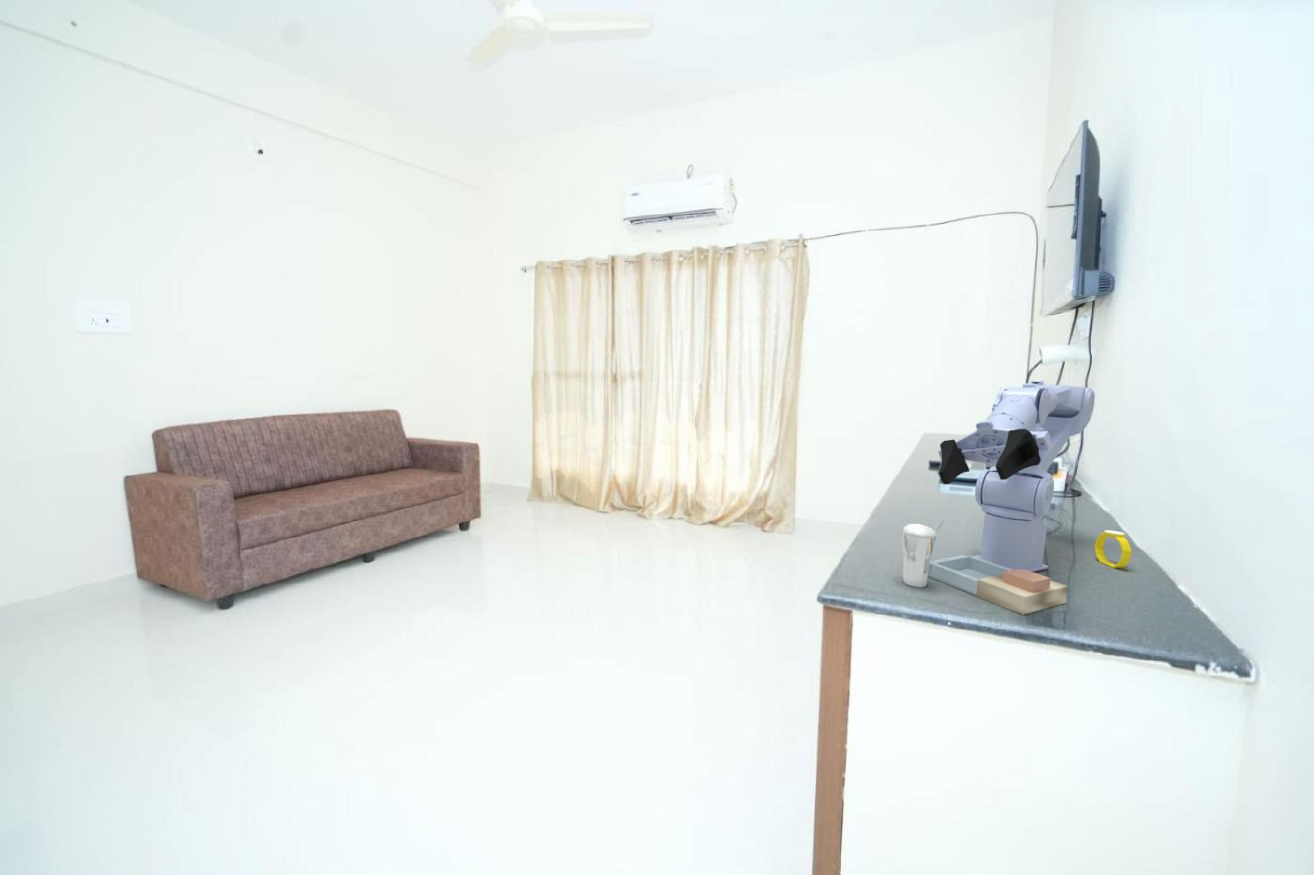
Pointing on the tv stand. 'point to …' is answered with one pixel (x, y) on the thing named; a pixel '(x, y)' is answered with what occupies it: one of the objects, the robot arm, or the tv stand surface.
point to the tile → (1026, 580)
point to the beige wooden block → (1020, 595)
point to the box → (964, 571)
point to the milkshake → (917, 553)
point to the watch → (1123, 543)
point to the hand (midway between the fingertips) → (970, 475)
